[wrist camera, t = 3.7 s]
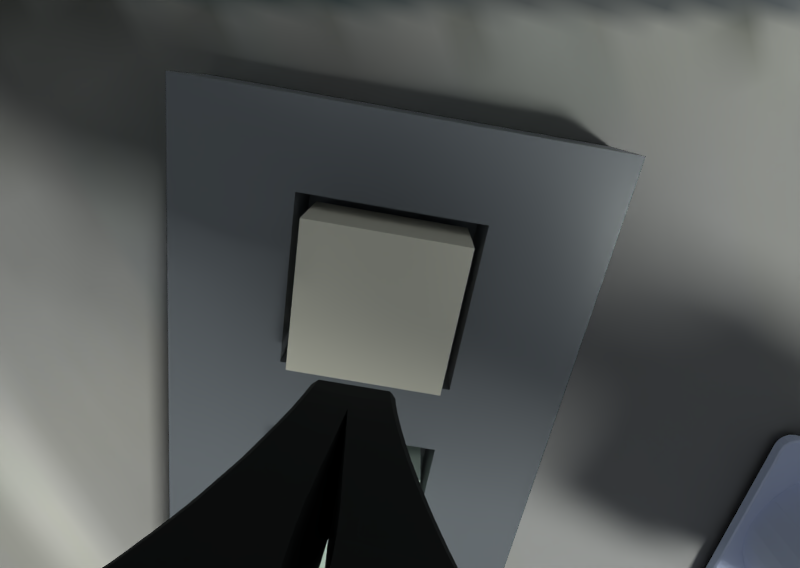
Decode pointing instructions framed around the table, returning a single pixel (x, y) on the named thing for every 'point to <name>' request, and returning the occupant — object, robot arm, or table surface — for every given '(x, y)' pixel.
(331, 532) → the robot arm
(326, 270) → the sand key
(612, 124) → the table surface
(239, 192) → the keypad
